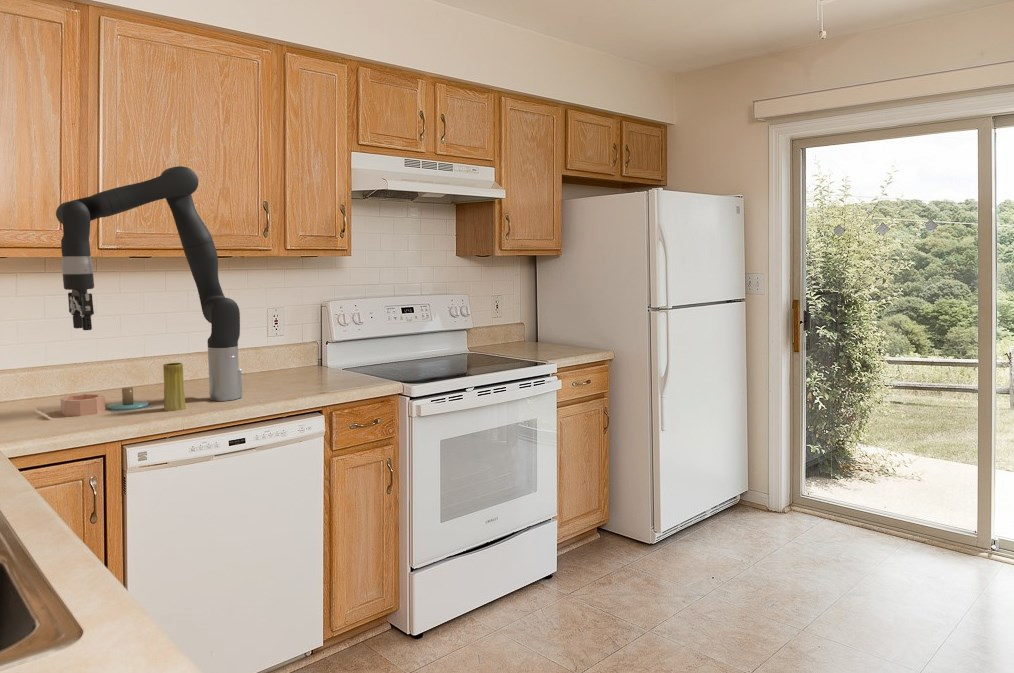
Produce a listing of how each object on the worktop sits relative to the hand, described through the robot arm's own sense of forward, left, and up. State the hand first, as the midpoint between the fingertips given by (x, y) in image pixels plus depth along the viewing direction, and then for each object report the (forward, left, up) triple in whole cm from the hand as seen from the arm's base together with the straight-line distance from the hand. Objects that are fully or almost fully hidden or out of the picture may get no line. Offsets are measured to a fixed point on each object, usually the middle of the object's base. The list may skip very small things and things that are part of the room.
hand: (82, 329), depth 209 cm
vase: (-21, +9, -26) cm, 35 cm away
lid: (-12, -4, -25) cm, 28 cm away
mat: (-12, -4, -26) cm, 29 cm away
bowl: (0, -5, -26) cm, 26 cm away
